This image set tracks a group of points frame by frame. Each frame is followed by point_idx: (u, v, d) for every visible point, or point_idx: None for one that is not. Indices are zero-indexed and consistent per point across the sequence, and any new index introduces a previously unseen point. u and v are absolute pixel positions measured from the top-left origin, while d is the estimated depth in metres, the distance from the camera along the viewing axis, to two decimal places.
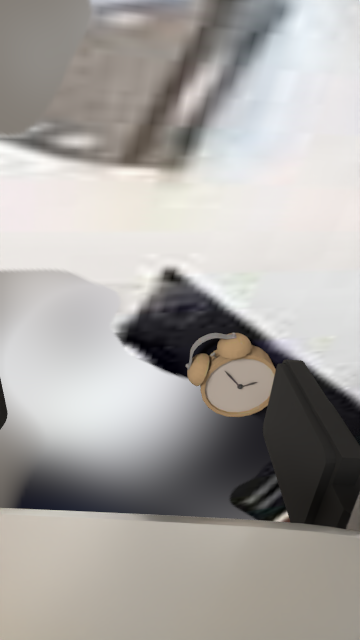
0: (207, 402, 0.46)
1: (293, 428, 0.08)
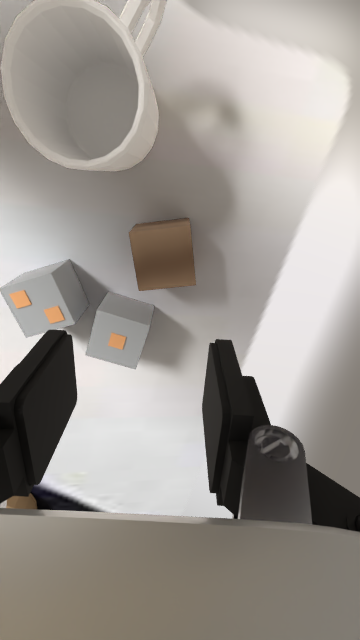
0: None
1: (212, 397, 0.09)
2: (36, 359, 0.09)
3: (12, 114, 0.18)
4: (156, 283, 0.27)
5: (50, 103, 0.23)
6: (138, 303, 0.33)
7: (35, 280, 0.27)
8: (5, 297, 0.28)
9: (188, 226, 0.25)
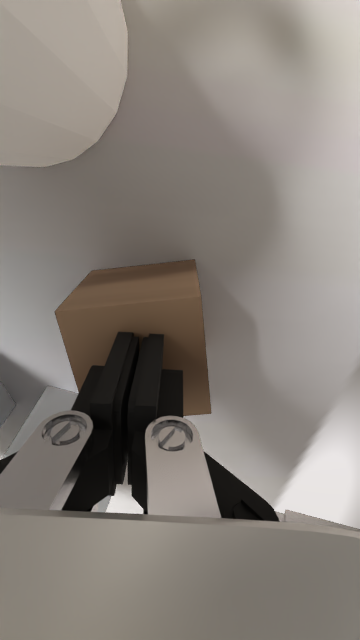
0: None
1: None
2: (119, 361, 0.09)
3: None
4: None
5: None
6: None
7: None
8: None
9: (196, 297, 0.11)
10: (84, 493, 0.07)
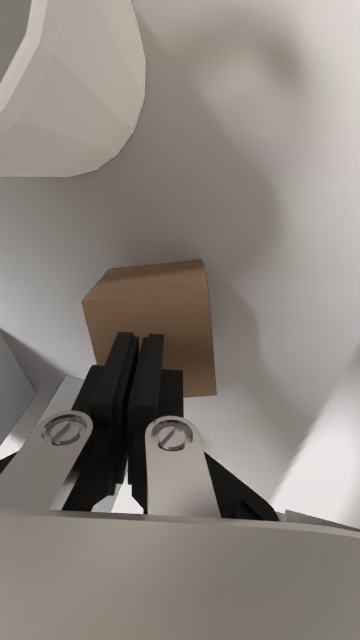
0: None
1: None
2: (119, 361, 0.09)
3: None
4: None
5: None
6: None
7: None
8: None
9: (204, 290, 0.12)
10: (84, 493, 0.07)
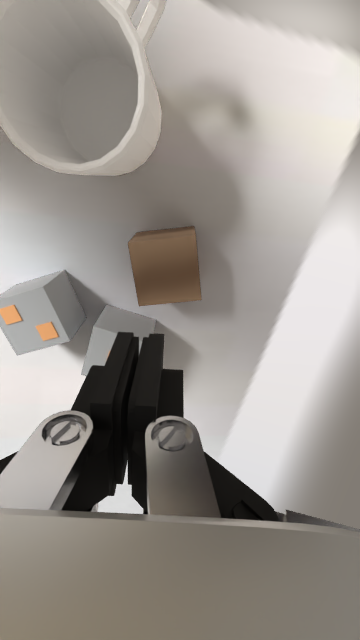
0: None
1: None
2: (119, 361, 0.09)
3: None
4: (158, 298, 0.25)
5: (41, 100, 0.20)
6: (139, 317, 0.30)
7: (26, 295, 0.25)
8: None
9: (193, 236, 0.23)
10: (84, 493, 0.07)
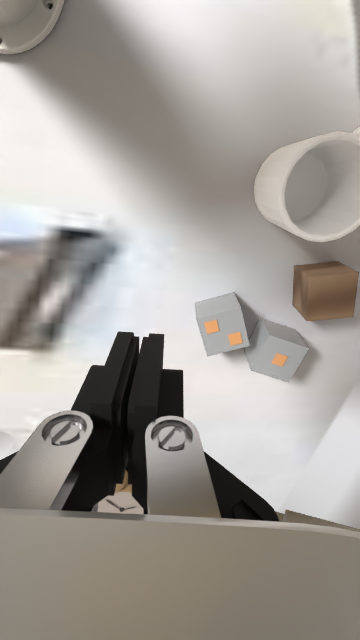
0: None
1: None
2: (119, 361, 0.09)
3: (280, 206, 0.25)
4: (322, 315, 0.35)
5: None
6: (285, 327, 0.40)
7: (227, 312, 0.35)
8: (199, 325, 0.35)
9: (356, 273, 0.33)
10: (84, 493, 0.07)
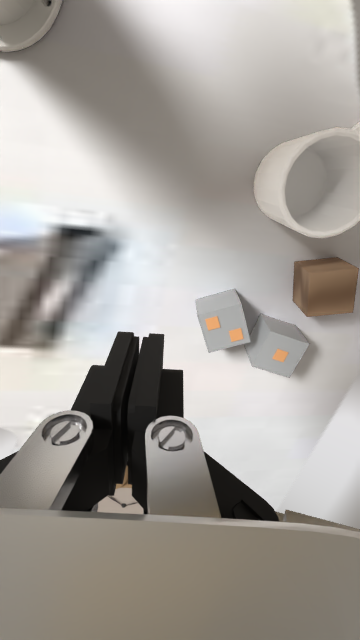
0: None
1: None
2: (119, 361, 0.09)
3: (281, 202, 0.26)
4: (322, 311, 0.35)
5: None
6: (285, 323, 0.40)
7: (228, 309, 0.35)
8: (200, 321, 0.35)
9: (356, 268, 0.33)
10: (84, 493, 0.07)
